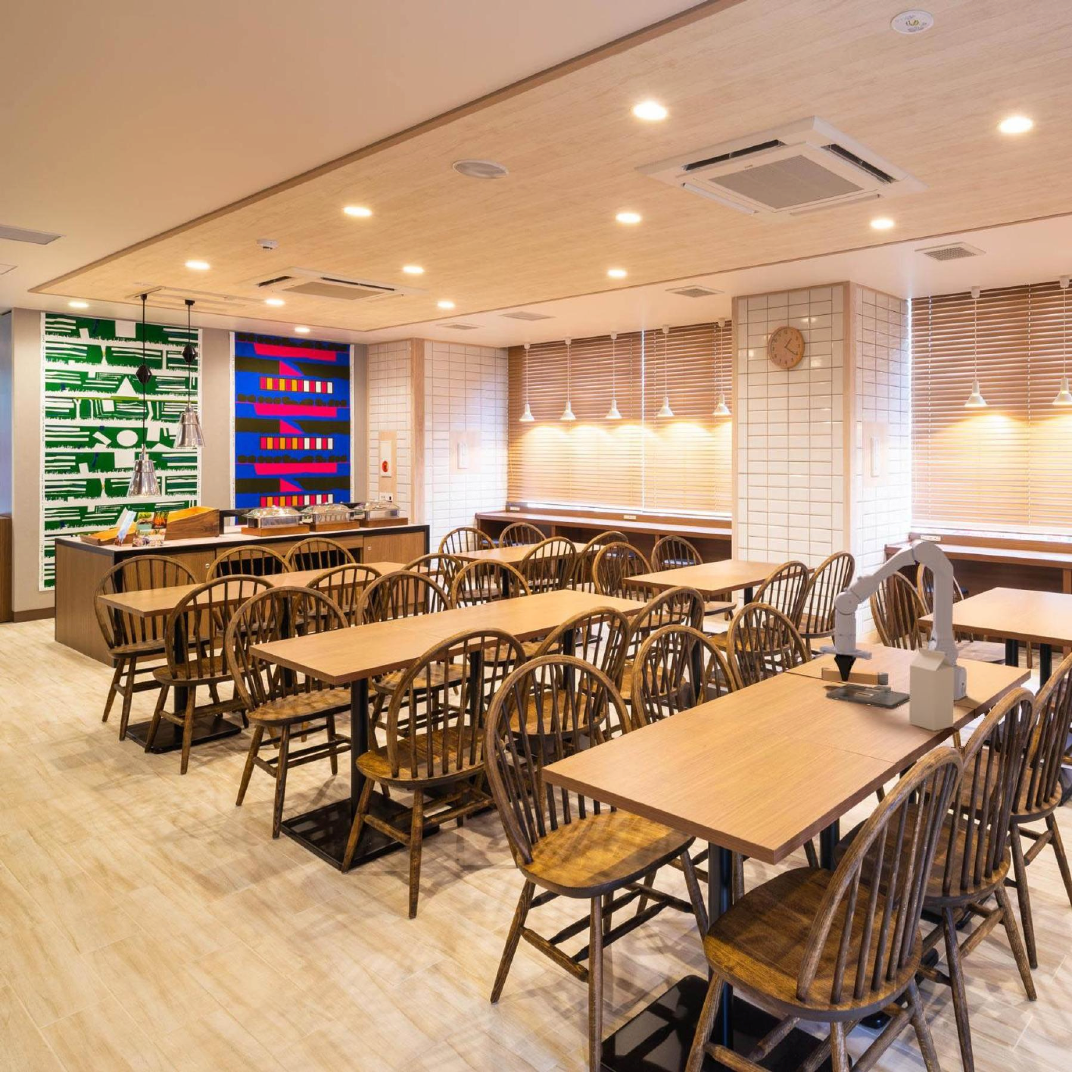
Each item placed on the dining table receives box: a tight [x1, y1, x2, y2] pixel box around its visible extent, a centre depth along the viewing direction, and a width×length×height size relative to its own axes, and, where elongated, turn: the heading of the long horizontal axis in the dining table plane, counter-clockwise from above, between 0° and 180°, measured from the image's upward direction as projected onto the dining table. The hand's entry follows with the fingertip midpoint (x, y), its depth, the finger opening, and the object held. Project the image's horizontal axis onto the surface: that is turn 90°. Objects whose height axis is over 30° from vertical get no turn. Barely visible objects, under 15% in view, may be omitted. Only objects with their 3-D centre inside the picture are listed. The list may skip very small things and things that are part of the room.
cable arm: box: [820, 666, 889, 686], centre depth 241 cm, size 18×4×3 cm, turn 61°
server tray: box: [825, 683, 910, 710], centre depth 232 cm, size 18×18×2 cm
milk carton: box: [908, 647, 955, 732], centre depth 204 cm, size 7×7×19 cm
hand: (844, 680), depth 238 cm, fingers closed
